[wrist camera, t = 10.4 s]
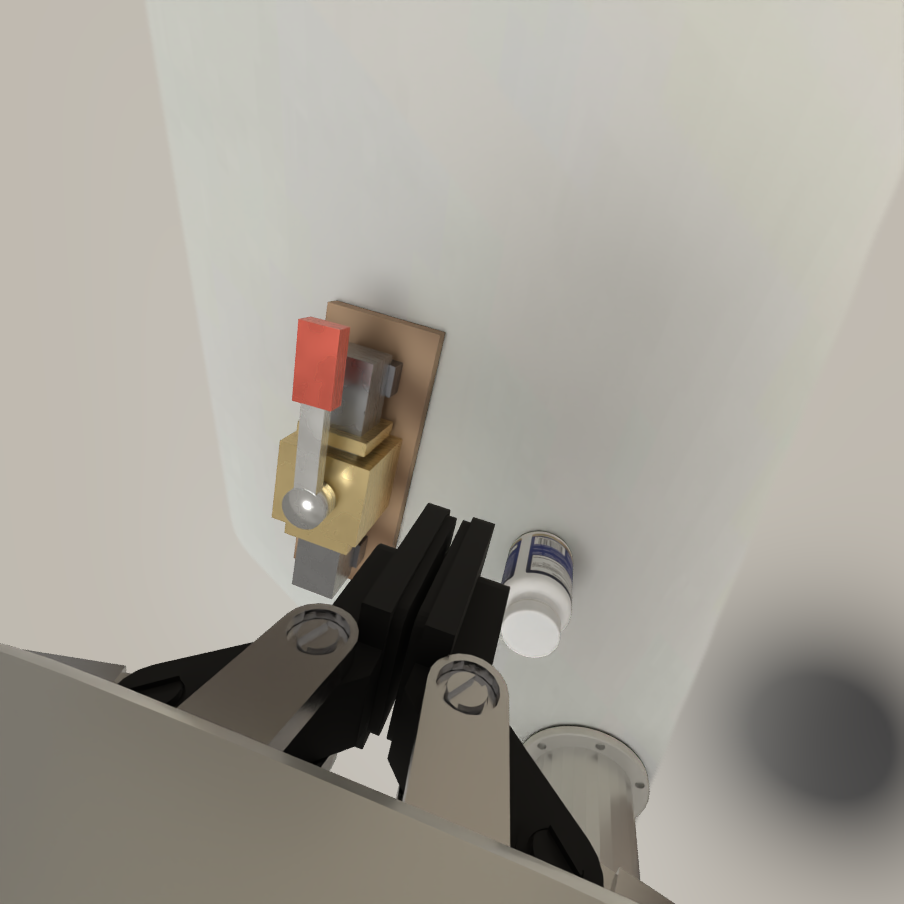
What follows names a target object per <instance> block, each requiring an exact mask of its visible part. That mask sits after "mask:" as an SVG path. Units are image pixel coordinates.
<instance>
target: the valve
mask: <svg viewBox="0 0 904 904" xmlns="http://www.w3.org/2000/svg"><path fill="white" fill-rule="evenodd" d="M392 356H393V355H391V354H388V353H384V352H381V351H378V350H374V349H371V348H368V347H364V346H361V345H358V344H355V343H351V342H349V343H348V351H347V359H346V367H345V376H344V384H343V392H342V400H341V406H339V407H338V408H336V409H334V410H333V411H331V419H330V428H329V437H328V446H327V455H326V463H325V472H324V481H325V482H326V483H327V484H328V485H329V486H330V487H331V488H332V490H333V491H334V494H335V497H336V505H335V508H334V510H333V511H332V512H331V513H330V514H329V515H328V516H327V517H326V518H325V519H324V520H323V521H322V522H321V523H320V524H319V525H318V526H317V527H315V528H313V529H309V530H305V529H300V528H298V527H296V526H294V525H293V524H291V523H290V522H289V521H288V520H287V518H286V517H285V515H284V513H283V510H282V500H283V497H284V496H285V494H286V493H288V492H289V491H290V490H291V489H293V488H294V477H295V466H296V454H297V443H298V431H299V421H298V425H297V431H295V432H294V433H292V434H290V435H289V436H287V437H285V438H284V439H282V440H280V445H279V455H278V464H277V473H276V483H275V492H274V501H273V511H272V518H275V519H278V520H281V521H283V522H286V524H285V532H284V533H287V534H289V535H292V536H295V537H297V538H298V544H297V551H296V558H295V566H294V573H293V581H292V584H293V585H296V586H298V587H301V588H304V589H306V590H309V591H312V592H314V593H317V594H320V595H322V596H325V597H327V598H330V599H332V598H333V597H334V596H335V594H336V593H337V592H338V590H339V589H340V588H341V586H342V585H343V584H344V582H345V581H346V579H347V578H348V577H349V575H350V574H351V569H352V567H353V568H357V567H358V565H359V564H360V563H361V561H362V560H363V558H364V555H365V550H366V545H367V540H368V536H366V533H367V532H368V531H369V530H370V528H371V527H372V526H373V525H374V523H375V522H376V521H377V520H378V518H379V517H380V516H381V515H382V513H383V512H384V511H385V510H386V508H387V507H388V505H389V500H390V496H391V491H392V487H393V482H394V477H395V473H396V468H397V463H398V459H399V454H400V450H401V445H402V440H403V439H402V438H399V437H396V436H393V435H390V434H391V430H392V425H393V422H391V421H388V420H385V419H382V418H381V413H382V408H383V403H384V398H385V397H388V398H390V397H392V396H393V395H395V394H396V393H397V392H398V387H399V382H400V377H401V372H402V367H403V363H402V362H399V361H396V360H392Z"/></svg>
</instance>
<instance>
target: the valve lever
mask: <svg viewBox="0 0 904 904" xmlns="http://www.w3.org/2000/svg"><path fill="white" fill-rule="evenodd" d="M349 334H350V327H348V326H345V325H341V324H337V323H333V322H329V321H325V320H322V319H318V318H314V317H306V318H301V319H298V332H297V344H296V357H295V370H294V382H293V395H292V401H296V402H299V403H301V408H300V420H299V431H298V443H297V454H296V466H295V477H294V488H293V489H291V490H290V491H289V492H288V493H286V494H285V496H284V497H283V500H282V510H283V513H284V515H285V517H286V518H287V520H288V521H289V522H290V523H291V524H293V525H294V526H296V527H298V528H300V529H305V530H309V529H313V528H315V527H317V526H318V525H319V524H320V523H321V522H322V521H323V520H324V519H325V518H326V517H327V516H328V515H329V514H330V513H331V512H332V511H333V510H334V508H335V505H336V497H335V494H334V491H333V490H332V488H331V487H330V486H329V485H328V484H327V483H326V482H325V481H324V472H325V463H326V455H327V446H328V437H329V428H330V419H331V411H333V410H334V409H336V408H338V407H339V406H341V400H342V392H343V384H344V376H345V367H346V359H347V351H348V343H349Z"/></svg>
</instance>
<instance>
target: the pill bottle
mask: <svg viewBox="0 0 904 904" xmlns="http://www.w3.org/2000/svg"><path fill="white" fill-rule="evenodd" d="M572 580H573V558H572V554H571V551H570V549H569V548H568V546H567V545H566V544H565V542H564V541H563V540H561V539H560V538H559V537H557V536H555V535H553V534H551V533H547V532H541V531H537V532H530V533H527V534H524V535H522V536H521V537H519V538H518V539H517V540H516V541H515V542H514V543H513V545H512V546H511V548H510V551H509V554H508V558H507V562H506V566H505V570H504V574H503V578H502V582H501V584H504V585H507V586H510V592H509V596H508V600H507V605H506V609H505V613H504V618H503V622H502V626H501V633H502V637H503V640H504V642H505V643H506V645H507V646H508V647H509V648H510V649H511V650H513V651H514V652H516V653H517V654H520V655H522V656H525V657H530V658H538V657H544V656H546V655H549V654H550V653H552V652H553V651H554V650H555V649H556V648H557V646H558V644H559V641H560V633H561V632H562V631H563V630H564V629H565V628H566V626H567V625H568V623H569V621H570V618H571V611H572Z"/></svg>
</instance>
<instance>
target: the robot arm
mask: <svg viewBox="0 0 904 904" xmlns="http://www.w3.org/2000/svg"><path fill="white" fill-rule="evenodd" d="M456 520H457V518H455V517H452V516H450V510H449V509H446V508H443V507H440V506H437V505H434V504H430V503H428V504H427V506H426V507H425V508H424V510H423V511H422V513H421V514H420V516H419V517H418V519H417V520H416V522H415V523H414V525H413V526H412V528H411V529H410V531H409V532H408V534H407V535H406V537H405V538H404V540H403V541H402V543H401V544H400V546H399V547H398V549H396V548H393V547H390V546H387V545H384V544H382V543H380V544H378V545H377V546H376V547H375V549H374V550H373V551H372V553H371V554H370V555H369V557H368V558H367V559H366V561H365V562H364V563H363V565H362V566H361V567H360V569H359V570H358V571H357V573H356V574H355V575H354V577H353V578H352V579H351V581H350V582H349V583H348V585H347V586H346V587H345V589H344V590H343V591H342V593H341V594H340V595H339V597H338V598H337V599H336V601H335V602H334V603H333V605H330V604H322V603H316V604H307V605H304V606H301V607H298V608H295V609H294V610H292V611H291V612H289V613H287V614H286V615H285V616H284V617H282V618H281V619H280V620H279V621H278V622H277V623H275V624H274V625H273V626H272V627H271V628H270V629H268V630H267V631H266V632H265V633H264V634H263V635H261V636H260V637H259V638H258V639H257V640H256V641H254V642H252V643H248V644H243V645H239V646H234V647H230V648H225V649H221V650H217V651H213V652H208V653H203V654H199V655H194V656H190V657H186V658H181V659H177V660H172V661H168V662H164V663H159V664H155V665H151V666H148V667H146V668H142V669H140V670H138V671H135V672H134V673H132V674H130V673H126V666H124V665H118V664H111V663H104V662H98V661H92V660H86V659H80V658H73V657H67V656H61V655H54V654H48V653H42V652H35V651H29V650H23V649H19V648H16V647H13V646H9V645H5V644H1V643H0V904H675V903H673V902H672V901H670V900H668V899H667V898H666V897H664V896H663V895H661V894H660V893H658V892H657V891H655V890H654V889H652V888H651V887H649V886H648V885H646V884H645V883H643V882H642V881H640V872H639V861H638V850H637V839H636V827H635V818H636V817H637V816H639V815H640V813H641V812H642V811H643V810H644V809H645V807H646V804H647V802H648V799H649V792H650V791H649V782H648V776H647V773H646V769H645V768H644V766H643V764H642V762H641V760H640V759H639V758H638V757H637V756H636V755H635V753H634V752H633V751H632V750H631V749H629V748H628V747H627V746H626V745H625V744H623V743H622V742H620V741H618V740H617V739H615V738H613V737H612V736H609V735H607V734H605V733H602V732H600V731H596V730H593V729H589V728H584V727H577V726H560V727H554V728H549V729H546V730H543V731H540V732H538V733H536V734H535V735H533V736H531V737H530V738H529V739H528V740H527V741H526V742H525V743H524V744H522V743H521V741H520V740H519V738H518V737H517V735H516V734H515V733H514V731H513V730H512V728H511V727H510V725H509V693H508V688H507V684H506V683H505V681H504V679H503V677H502V675H501V674H500V673H499V672H498V671H497V670H496V669H495V668H494V667H493V666H492V664H493V660H494V656H495V652H496V647H497V643H498V639H499V635H500V630H501V626H502V622H503V618H504V613H505V609H506V605H507V600H508V596H509V592H510V586H507V585H504V584H501V583H498V582H495V581H492V580H489V579H486V578H483V577H480V576H481V572H482V569H483V565H484V562H485V558H486V555H487V551H488V548H489V544H490V541H491V537H492V534H493V530H494V527H495V524H493V523H490V522H487V521H484V520H481V519H478V518H475V517H473V519H472V521H471V522H467V521H464V520H463V521H462V523H461V525H460V527H459V530H458V532H457V534H456V536H455V538H454V540H453V542H452V544H451V541H452V537H453V533H454V529H455V525H456ZM450 545H451V546H450ZM395 699H396V700H395ZM394 702H395V704H394ZM393 704H394V708H393V713H392V717H391V721H390V725H389V730H388V734H387V739H388V740H391V741H392V742H391V746H390V750H389V754H388V761H389V763H390V766H391V768H392V770H393V772H394V774H395V777H396V779H397V781H398V783H399V787H398V791H397V795H396V799H395V798H393V797H390V796H388V795H385V794H383V793H381V792H378V791H376V790H373V789H371V788H368V787H366V786H364V785H361V784H359V783H357V782H354V781H351V780H349V779H347V778H344V777H342V776H340V775H337V774H335V773H332V772H330V769H331V768H332V765H333V764H334V762H335V760H336V756H337V753H338V752H341V751H344V750H346V749H349V748H352V747H357V748H360V749H363V747H364V745H365V743H366V741H367V738H368V736H369V734H370V733H373V734H375V735H378V736H379V735H380V733H381V731H382V729H383V726H384V724H385V722H386V720H387V717H388V715H389V713H390V710H391V708H392V706H393Z"/></svg>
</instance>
